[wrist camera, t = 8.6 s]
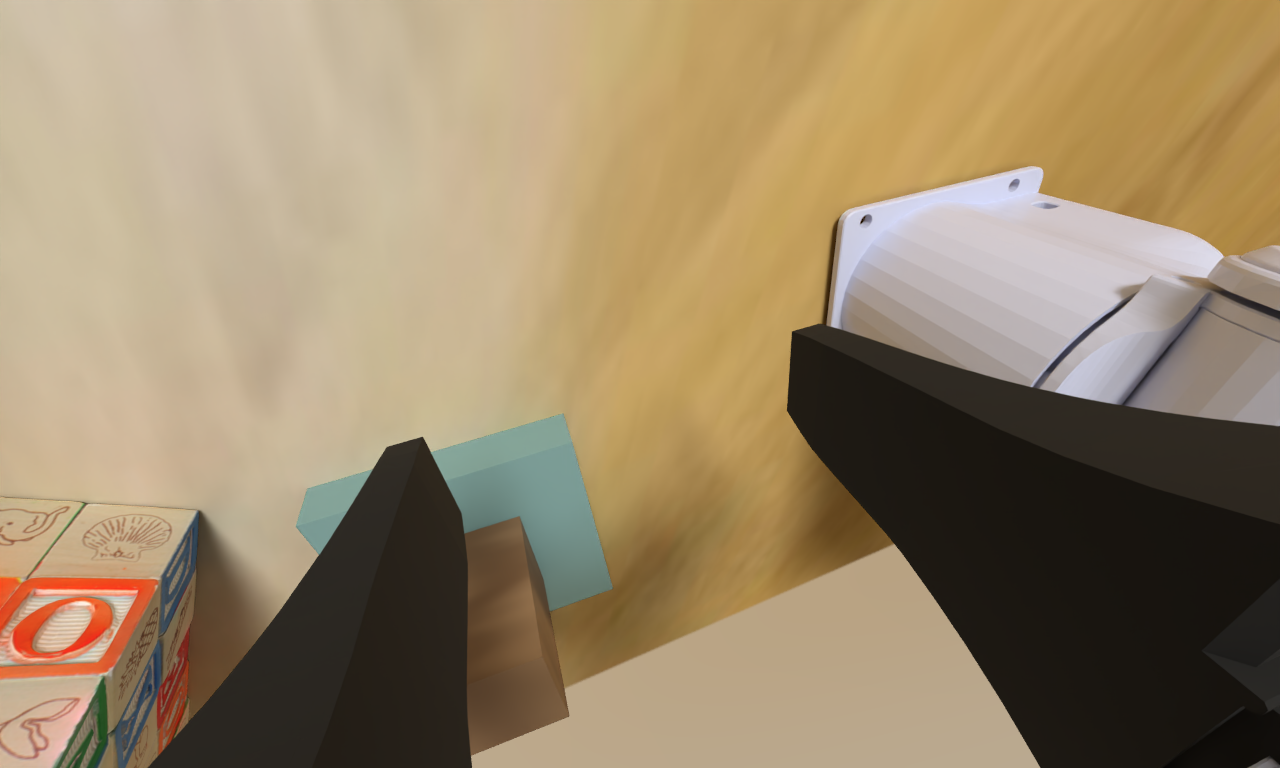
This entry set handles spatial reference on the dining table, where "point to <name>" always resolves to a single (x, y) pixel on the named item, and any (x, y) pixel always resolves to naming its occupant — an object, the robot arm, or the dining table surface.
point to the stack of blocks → (93, 632)
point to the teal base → (503, 502)
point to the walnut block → (508, 639)
